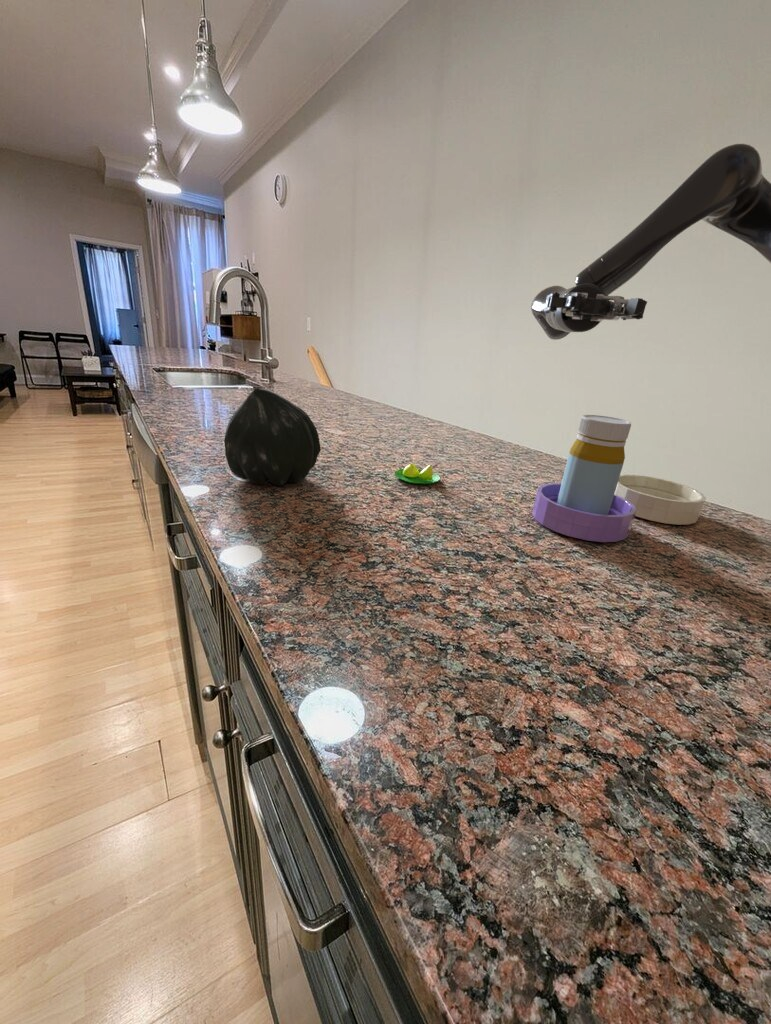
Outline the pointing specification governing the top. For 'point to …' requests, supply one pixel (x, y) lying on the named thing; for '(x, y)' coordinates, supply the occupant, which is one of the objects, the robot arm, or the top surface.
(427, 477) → the plate of pears
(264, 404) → the squash
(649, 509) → the cream bowl
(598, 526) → the lavender bowl
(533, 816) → the top surface
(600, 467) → the bottle
